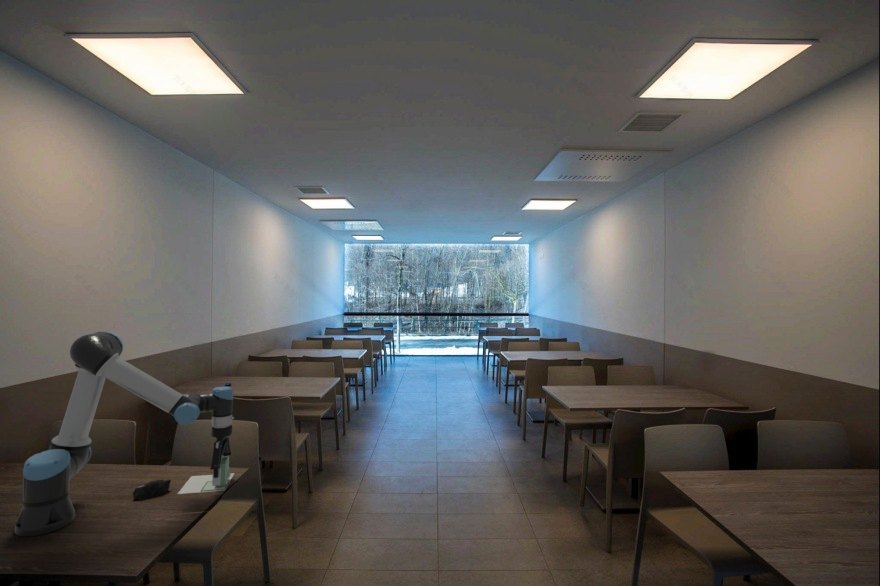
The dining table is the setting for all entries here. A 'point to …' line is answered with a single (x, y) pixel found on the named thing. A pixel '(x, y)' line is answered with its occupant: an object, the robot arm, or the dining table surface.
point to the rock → (151, 489)
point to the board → (202, 484)
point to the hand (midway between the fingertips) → (220, 478)
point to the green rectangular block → (223, 471)
